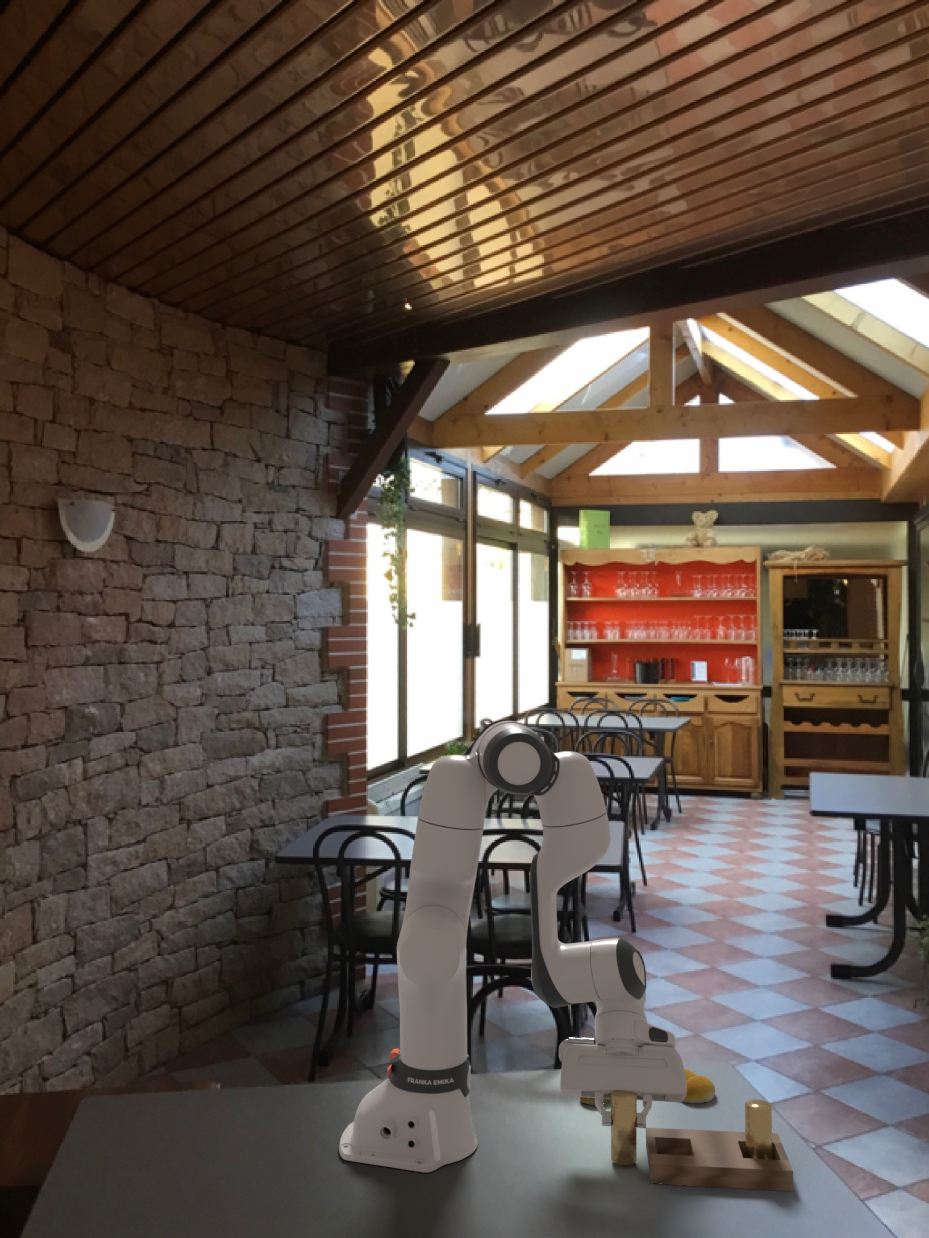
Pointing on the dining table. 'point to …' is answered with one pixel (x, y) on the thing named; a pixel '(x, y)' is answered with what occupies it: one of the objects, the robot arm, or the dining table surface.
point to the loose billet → (623, 1127)
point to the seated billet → (758, 1129)
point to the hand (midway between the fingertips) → (623, 1125)
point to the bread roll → (698, 1088)
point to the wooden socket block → (714, 1160)
